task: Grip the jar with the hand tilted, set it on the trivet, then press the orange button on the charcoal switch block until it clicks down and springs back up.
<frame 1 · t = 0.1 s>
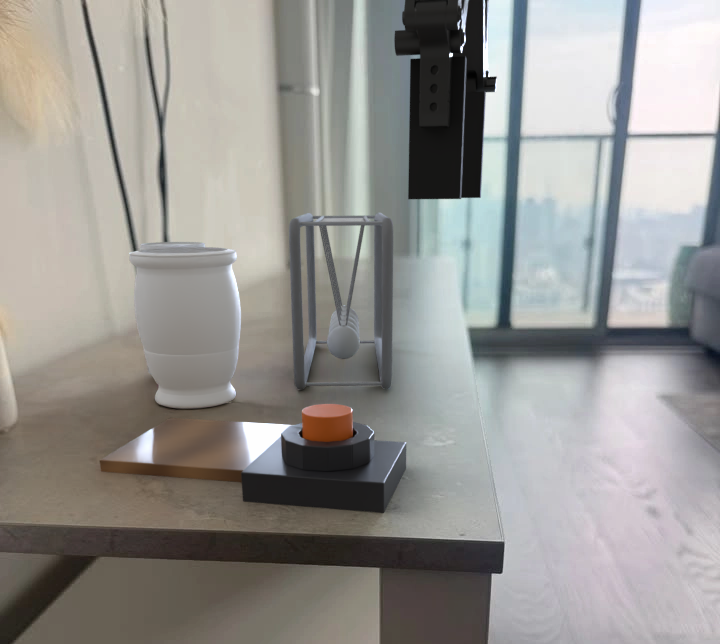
hand: (449, 199, 46), 20 cm above the table, tool pointing down, fingers open, 13 cm apart
newton's cradle: (344, 366, 94), on the table
switch block: (328, 484, 55), on the table
supplement can: (184, 377, 89), on the table
trivet: (204, 452, 62), on the table
jar: (196, 401, 78), on the table
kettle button: (327, 424, 53), point 5 cm above the table, slide at 0.1 cm
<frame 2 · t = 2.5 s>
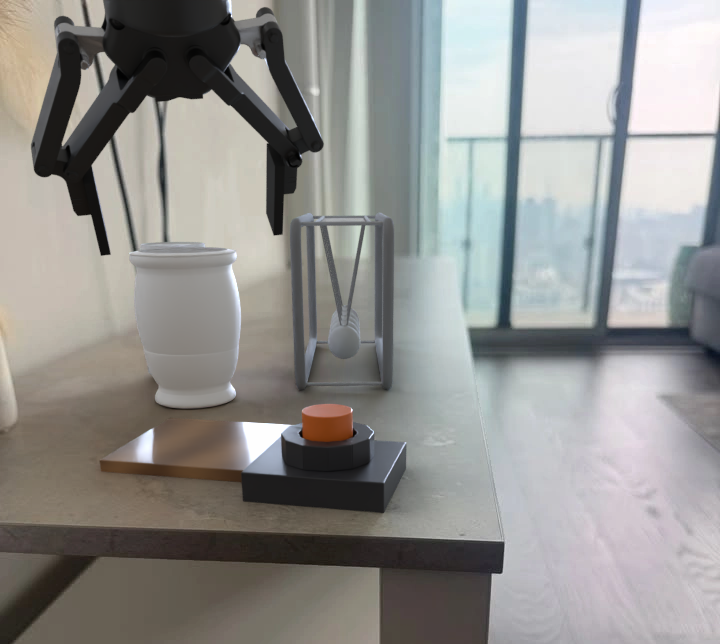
hand: (191, 233, 60), 17 cm above the table, tool tilted 40°, fingers open, 13 cm apart
nothing on the table moved.
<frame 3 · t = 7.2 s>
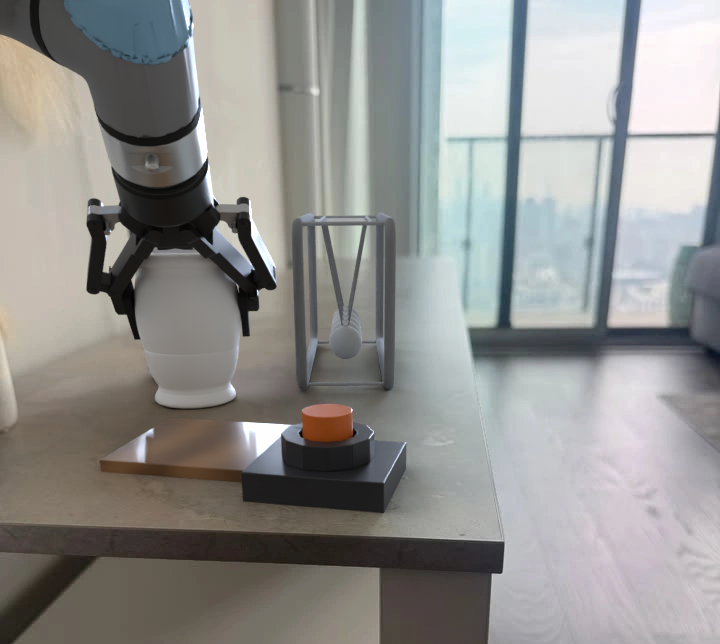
hand: (192, 327, 79), 7 cm above the table, tool tilted 45°, fingers closed on jar, 10 cm apart
jar: (196, 401, 78), on the table, touching gripper
everything else where it was.
when the fingers open (8 cm above the table, at t = 15.0 s): jar stays where it is, resting on trivet.
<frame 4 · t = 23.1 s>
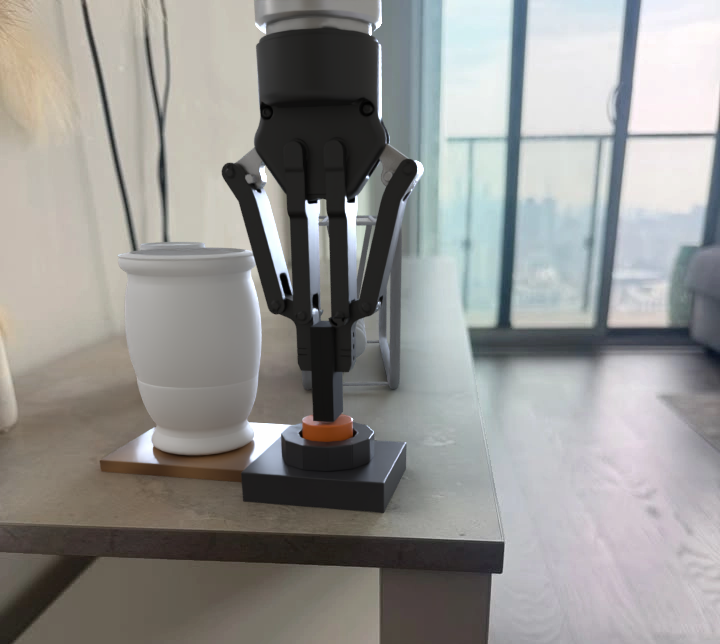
hand: (328, 415, 53), 5 cm above the table, tool pointing down, fingers closed
jar: (204, 443, 62), point 1 cm above the table, touching trivet
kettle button: (327, 433, 54), point 4 cm above the table, slide at -0.6 cm, touching gripper
everything else where it was.
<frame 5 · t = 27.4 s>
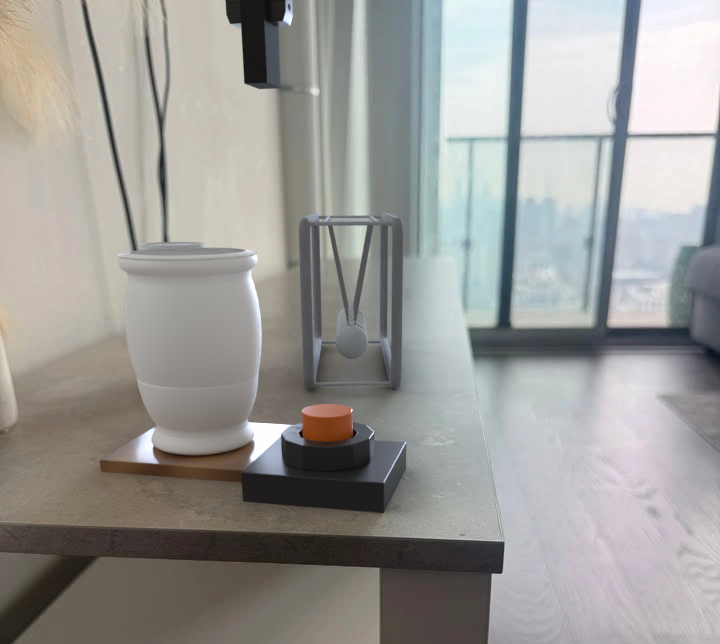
hand: (263, 85, 47), 26 cm above the table, tool pointing down, fingers closed
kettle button: (327, 424, 53), point 5 cm above the table, slide at 0.1 cm
everything else where it was.
at the end: jar 0.0 cm off-centre on the trivet, point 0.8 cm above the trivet's base; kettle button pushed in 1.0 cm at the most during the clip, back to where it started at the end; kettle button slide at 0.1 cm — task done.
